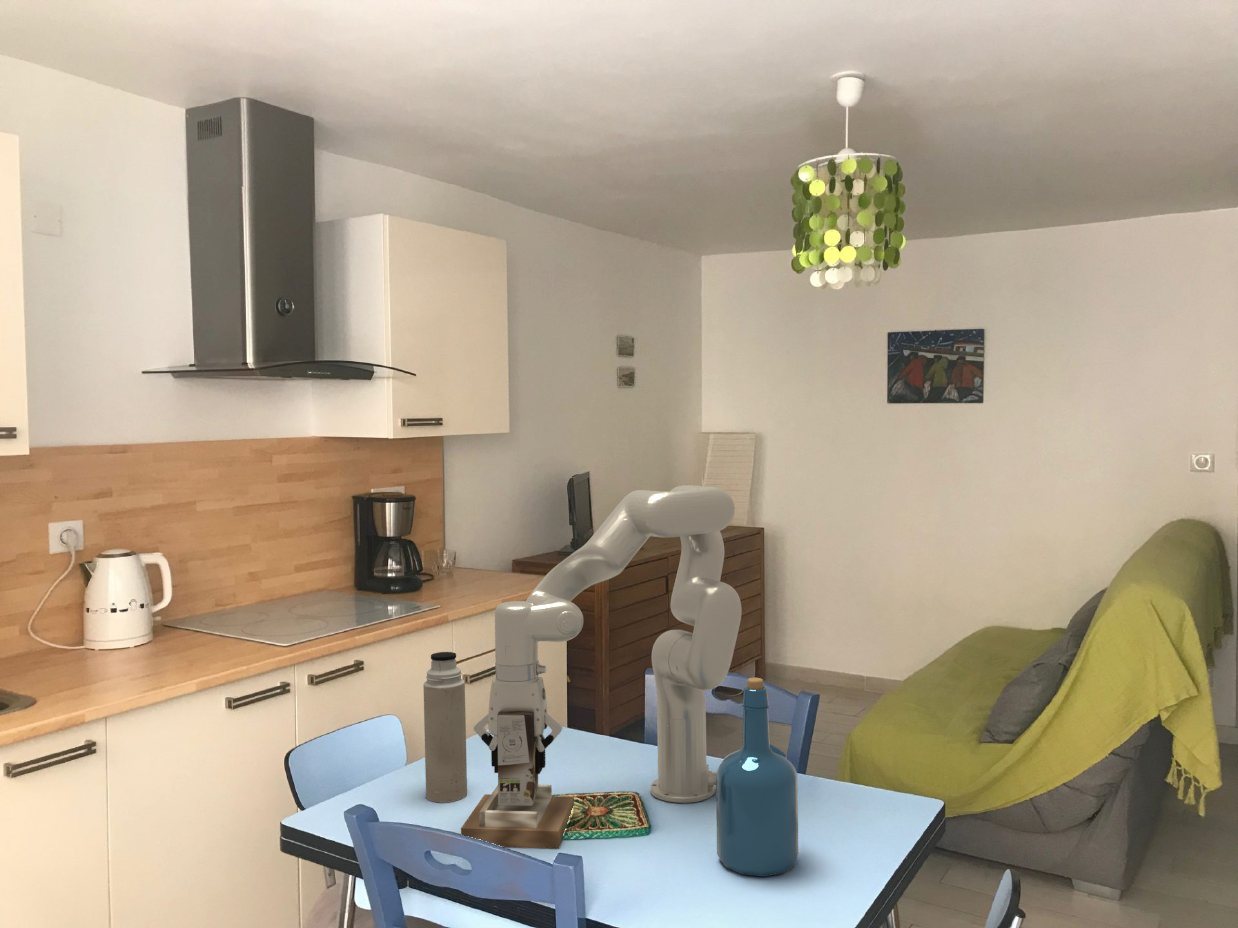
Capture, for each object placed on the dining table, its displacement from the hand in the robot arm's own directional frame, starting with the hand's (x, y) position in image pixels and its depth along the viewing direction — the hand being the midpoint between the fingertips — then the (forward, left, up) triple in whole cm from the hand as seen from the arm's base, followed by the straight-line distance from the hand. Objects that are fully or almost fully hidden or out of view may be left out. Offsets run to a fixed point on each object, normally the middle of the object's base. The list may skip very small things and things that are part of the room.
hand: (518, 770), depth 175 cm
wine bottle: (-42, +10, -11) cm, 45 cm away
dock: (0, 0, -11) cm, 11 cm away
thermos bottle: (+18, -15, -11) cm, 26 cm away
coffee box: (0, 0, -5) cm, 5 cm away
